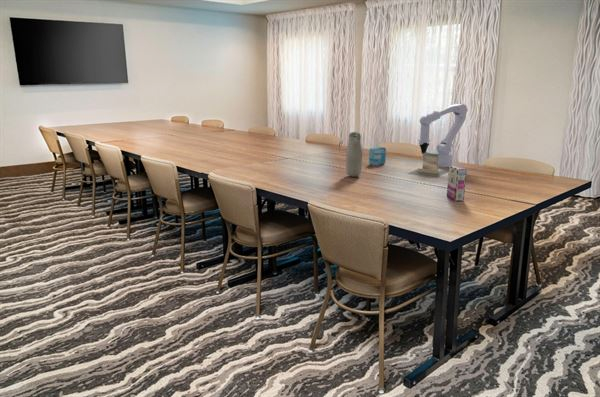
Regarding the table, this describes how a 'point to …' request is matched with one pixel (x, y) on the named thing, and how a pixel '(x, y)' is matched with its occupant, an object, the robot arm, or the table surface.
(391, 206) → the table surface
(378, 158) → the data package
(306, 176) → the table surface
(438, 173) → the rubber mat
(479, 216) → the table surface
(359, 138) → the glass bottle
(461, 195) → the candy bar box
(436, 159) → the ash slab
